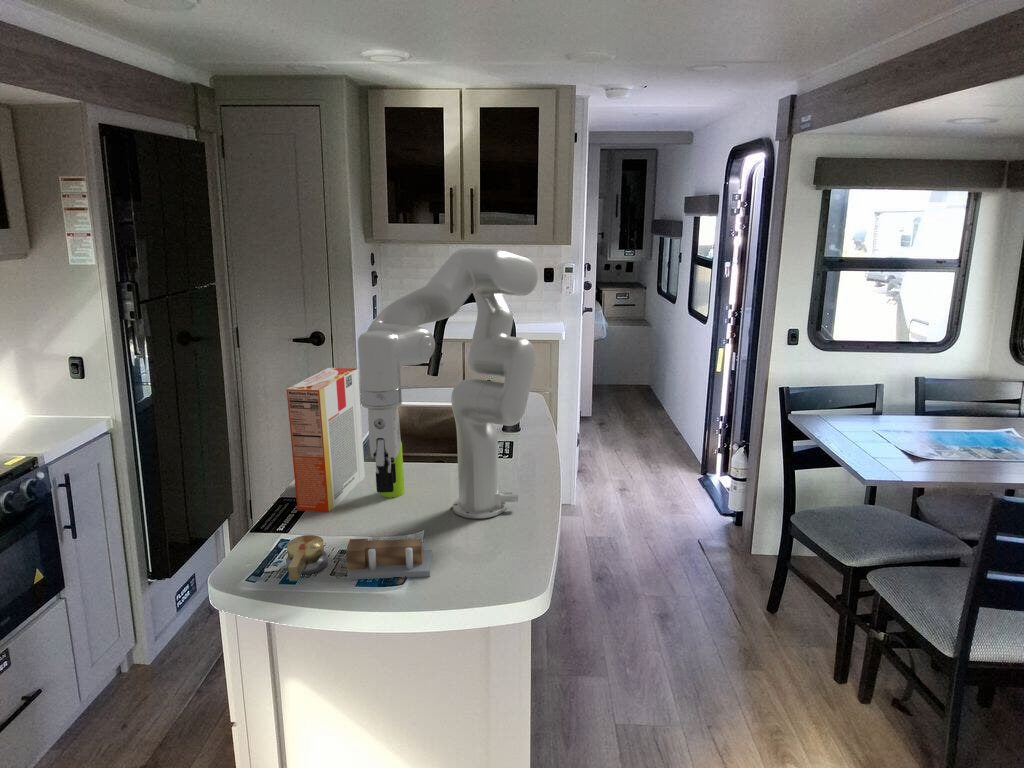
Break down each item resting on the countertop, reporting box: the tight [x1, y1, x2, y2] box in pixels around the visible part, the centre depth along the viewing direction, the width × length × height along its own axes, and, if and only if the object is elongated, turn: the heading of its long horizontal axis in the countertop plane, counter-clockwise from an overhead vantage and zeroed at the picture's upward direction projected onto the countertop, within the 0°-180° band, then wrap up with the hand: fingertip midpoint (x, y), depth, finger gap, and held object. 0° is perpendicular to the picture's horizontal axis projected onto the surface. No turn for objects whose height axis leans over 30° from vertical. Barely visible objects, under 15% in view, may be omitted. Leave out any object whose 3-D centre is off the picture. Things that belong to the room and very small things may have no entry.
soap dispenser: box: [380, 442, 405, 498], centre depth 180 cm, size 6×7×20 cm
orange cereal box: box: [286, 367, 366, 513], centre depth 180 cm, size 23×8×30 cm, turn 170°
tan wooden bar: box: [345, 537, 424, 571], centre depth 144 cm, size 15×5×4 cm, turn 93°
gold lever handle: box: [286, 534, 325, 582], centre depth 141 cm, size 14×7×3 cm, turn 3°
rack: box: [346, 534, 433, 581], centre depth 144 cm, size 16×9×5 cm, turn 93°
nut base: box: [263, 550, 329, 577], centre depth 145 cm, size 12×8×2 cm, turn 93°
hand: (386, 486), depth 141 cm, fingers open, 3 cm apart
